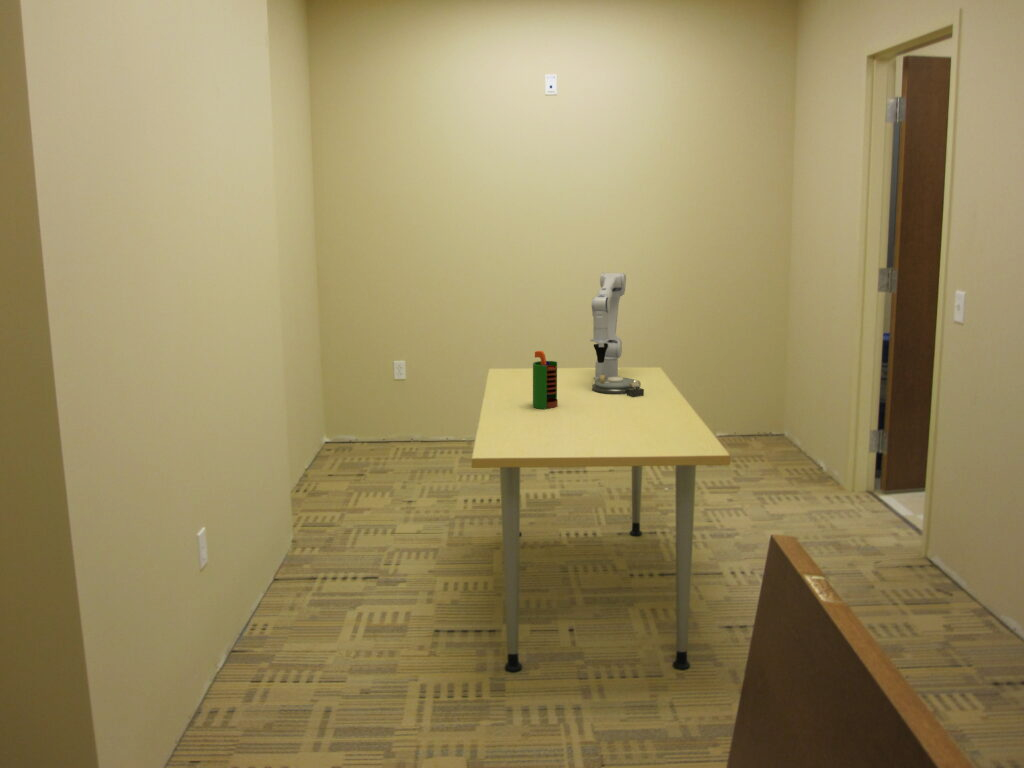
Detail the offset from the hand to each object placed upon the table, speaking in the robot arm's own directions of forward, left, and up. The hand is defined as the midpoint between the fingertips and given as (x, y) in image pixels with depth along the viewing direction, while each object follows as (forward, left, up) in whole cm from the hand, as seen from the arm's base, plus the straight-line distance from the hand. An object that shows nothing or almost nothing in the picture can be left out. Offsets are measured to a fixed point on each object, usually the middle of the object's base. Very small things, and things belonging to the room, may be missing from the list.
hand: (600, 362), depth 350 cm
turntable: (+5, +4, -9) cm, 10 cm away
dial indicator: (+18, +4, -10) cm, 21 cm away
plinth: (+5, +4, -10) cm, 12 cm away
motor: (+14, -33, -10) cm, 38 cm away
